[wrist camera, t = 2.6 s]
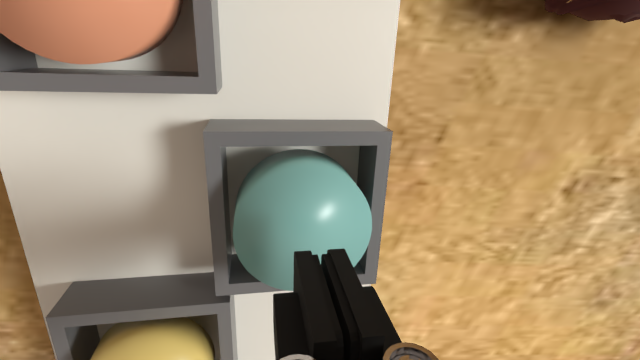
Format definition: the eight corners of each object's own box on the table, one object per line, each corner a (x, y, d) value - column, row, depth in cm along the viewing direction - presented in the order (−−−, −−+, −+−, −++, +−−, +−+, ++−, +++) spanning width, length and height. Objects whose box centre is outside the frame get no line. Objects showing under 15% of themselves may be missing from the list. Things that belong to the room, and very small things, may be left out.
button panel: (-30, -132, 14) (-194, -235, 9) (385, -86, 17) (442, -143, 12) (93, 369, 23) (47, 461, 18) (349, 341, 26) (372, 413, 21)
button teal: (232, 149, 15) (229, 168, 13) (361, 148, 16) (378, 165, 14) (238, 263, 17) (236, 296, 15) (352, 256, 18) (366, 285, 16)
